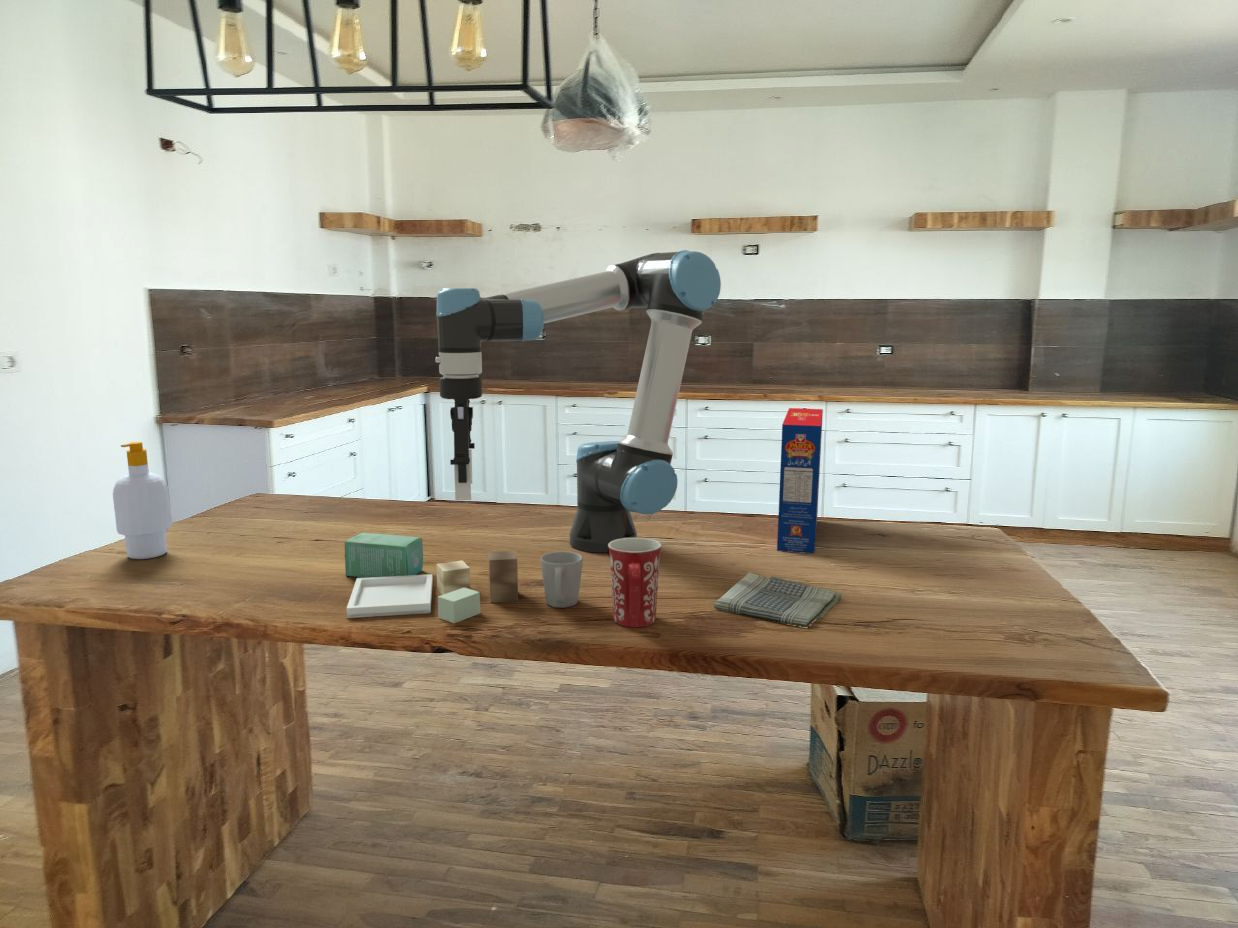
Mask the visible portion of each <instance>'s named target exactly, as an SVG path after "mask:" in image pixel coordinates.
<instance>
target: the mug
mask: <svg viewBox="0 0 1238 928" xmlns="http://www.w3.org/2000/svg"><path fill="white" fill-rule="evenodd" d="M662 547H663V546H662V544H661V542H660V541H658V540H655V539H651V538H645V537H637V538H622V539H617V540H614V541H611V542H610V543H609V544H608V548H609V552H608V553H609V564H610V565H609V568H610V580H611V581H610V582H611V584H610V585H611V597H612V616H613V621H614V623H616V624H618V625H619V626H623V627H627V628H640V627H648V626H650V625H653V624H654V622H656V617H657V616H656V615H657V603H658V602H657V601H658V591H659V589H658V588H659V587H658V586H659V585H658V584H659V575H660V574H659V573H660V572H659V571H660V558H661V557H660V556H661V549H662Z"/></svg>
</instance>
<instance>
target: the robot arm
mask: <svg viewBox="0 0 1238 928" xmlns="http://www.w3.org/2000/svg"><path fill="white" fill-rule="evenodd" d="M721 281H722V280H721V276H720V271H719V269H718V268H717V267H716V263H715V262H714V261H713V260H712V259H711V257H710V256H708V255H707V254H704V253H703V252H700V251H693V250H692V251H691V250H687V249H684V250H680V251H670V252H669V251H668V252H655V253H649V254H647V255H642V256H640V257H637V258H634V259H631V260H627V261H623V262H621V263H616V264H613V265H609V266H607V267H606V269H605V270H604V271H603V272H599V273H592V274H589V275H584V276H580V277H575V278H571V279H570V278H569V279H565V280H562V281H556V282H552V283H547V284H543V285H538V286H533V287H530V288H524V289H518V290H513V291H510V292H506V293H502V294H497V295H493V296H492V295H491V296H487V297H483V298H481V297H482V296H481V295H480V294H481V293H480V291H479V289H477V288H476V287H475V288H472V287H469V288H467V287H459V288H458V287H457V288H456V287H450V288H449V287H443V288H441V289H439V290H438V292H437V293H436V294H437V295H436V313H435V316H436V324H437V329H436V330H437V339H438V340H437V341H438V342H437V343H438V344H437V345H438V347H437V348H438V356H436V357H435V360H434V361H435V363H439V365H438V368H439V369H438V371H439V372H438V373H439V374H440V375H442V376H441V377H440V378H439V379H438V380H439V381H438V382H439V396H440V398H441V399H445V400H454V406H452V407H450V411H449V412H450V413H449V414H450V420H451V431H452V432H453V451H454V452H453V459H449V460H450V465H451V466H453V467H454V470H453V471H454V495H455V502H459V501H460V502H462V501H472V487H471V485H472V484H473V460H472V458H473V456H472V450H473V449H476V448H475V446H476V445H475V443H474V442H472V439H471V431H472V429H473V428H472V426H473V418H474V407H473V406H470V403H471V401H470V400H475V399H479V398H481V397H482V396H483V379H482V378H481V376H480V375H481V374H482V372H483V361H482V360H483V359H482V356H483V355H482V342H486V343H487V342H517V341H518V342H519V341H520V342H525V341H535V340H537V339H539V337H540V336H541V335H542V333H543V330H544V324H547V323H552V322H556V321H560V320H564V319H569V318H573V317H578V316H581V315H586V314H591V313H594V312H599V311H603V310H607V309H611V308H613V309H614V310H616V311H624V310H628V309H636V308H637V309H638V308H639V309H646V314H647V315H648V317H649V318H650V321H651V323H650V327H649V328H650V329H649V333H648V337H647V340H646V341H647V342H646V347H645V351H644V355H643V356H644V357H643V361H642V365H641V370H640V376H639V380H638V383H637V389H636V392H635V393H636V394H635V399H634V402H633V407H632V412H631V416H630V421H629V425H628V430H627V434H626V435H625V436H624V437H623V438H621V439H620V440H608V441H606V440H605V441H596V442H595V441H594V442H587V443H582V444H580V445H579V446H578V448H577V451H576V452H577V454H576V461H575V462H576V482H577V483H576V485H577V487H576V488H577V489H576V497H577V498H576V500H577V503H576V504H577V505H576V507H577V509H576V513H575V517H574V518H573V522H572V525H571V529H570V531H569V546H571V547H572V548H574V549H577V550H580V551H585V552H589V553H590V552H591V553H609V548H608V544H609V543H610V542H611V541H614V540H617V539H622V538H638V533H637V530H636V526H635V522H634V520H633V516H632V514H631V513H636V514H641V515H652V514H653V515H654V514H656V513H658V512H660V511H662V510H663V509H664V508H666V507H667V506H668V505H669V504H670V503H671V502H672V500H673V499H674V496H675V495H676V492H677V489H678V481H679V480H678V476H677V474H676V470H675V469H674V467H673V466H672V464H671V463H672V460H673V455H674V452H673V450H672V449H671V447H670V446H669V439H670V435H671V430H672V426H673V420H674V417H675V412H676V407H677V404H678V402H677V401H678V399H679V398H678V397H679V394H680V389H681V385H682V380H683V376H684V372H685V371H684V370H685V366H686V361H687V356H688V352H689V348H690V345H691V344H690V343H691V339H692V333H693V331H694V329H696V328H697V327H699V326H700V325H701V324H702V323H703V318H704V315H705V311H706V310H708V309H709V308H712V306H713V305H714V304H715V303H716V302H717V301H718V299H719V297H720V293H721V290H722V289H721V286H722V282H721Z"/></svg>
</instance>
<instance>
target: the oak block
mask: <svg viewBox="0 0 1238 928" xmlns="http://www.w3.org/2000/svg"><path fill="white" fill-rule="evenodd" d="M470 568H471V567H469V566H468V565H467V563H465V561H464V560H456V561H448V562H441V563H436V589H437V590H438V592H439V593H440V594H441V595H444V594H447V593H450V592H452V591H455V590H458V589H461V588H468V589H471V573H470V572H471V570H470Z"/></svg>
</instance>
